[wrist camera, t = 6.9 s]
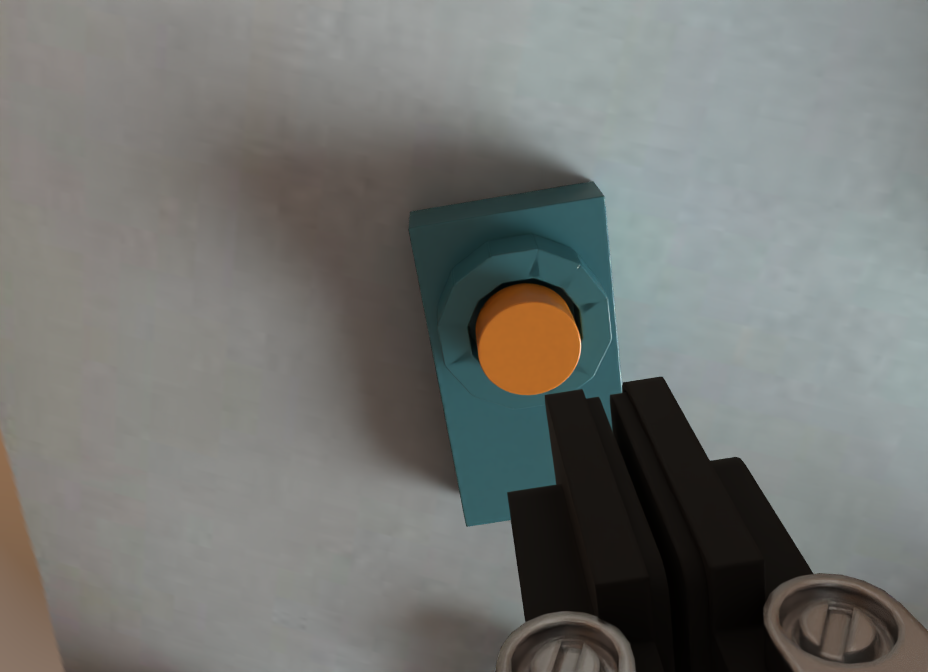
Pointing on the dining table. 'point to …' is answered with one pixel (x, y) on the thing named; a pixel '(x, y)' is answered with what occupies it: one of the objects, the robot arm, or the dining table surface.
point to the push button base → (463, 295)
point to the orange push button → (527, 339)
